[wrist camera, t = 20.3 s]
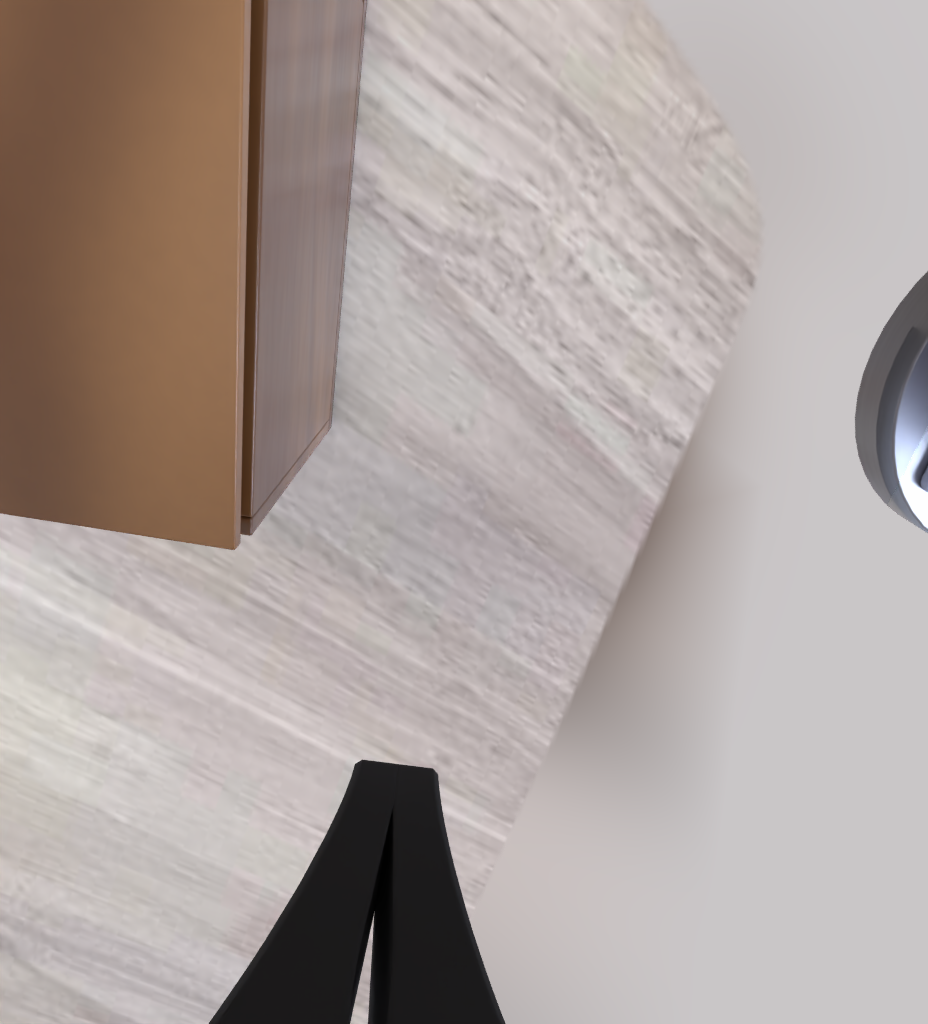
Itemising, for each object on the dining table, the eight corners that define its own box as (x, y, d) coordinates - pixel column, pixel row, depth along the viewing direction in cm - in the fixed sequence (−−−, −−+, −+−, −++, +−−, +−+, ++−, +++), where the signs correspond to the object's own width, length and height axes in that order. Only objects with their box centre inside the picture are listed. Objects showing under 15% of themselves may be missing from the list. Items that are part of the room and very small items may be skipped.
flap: (257, -276, 7) (248, -297, 7) (241, 543, 11) (235, 551, 11) (-275, -402, 6) (-309, -432, 6) (-77, 493, 11) (-91, 500, 11)
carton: (368, -13, 14) (255, -303, 6) (331, 428, 18) (239, 553, 11) (-165, -129, 13) (-979, -606, 6) (-70, 361, 18) (-459, 447, 10)
